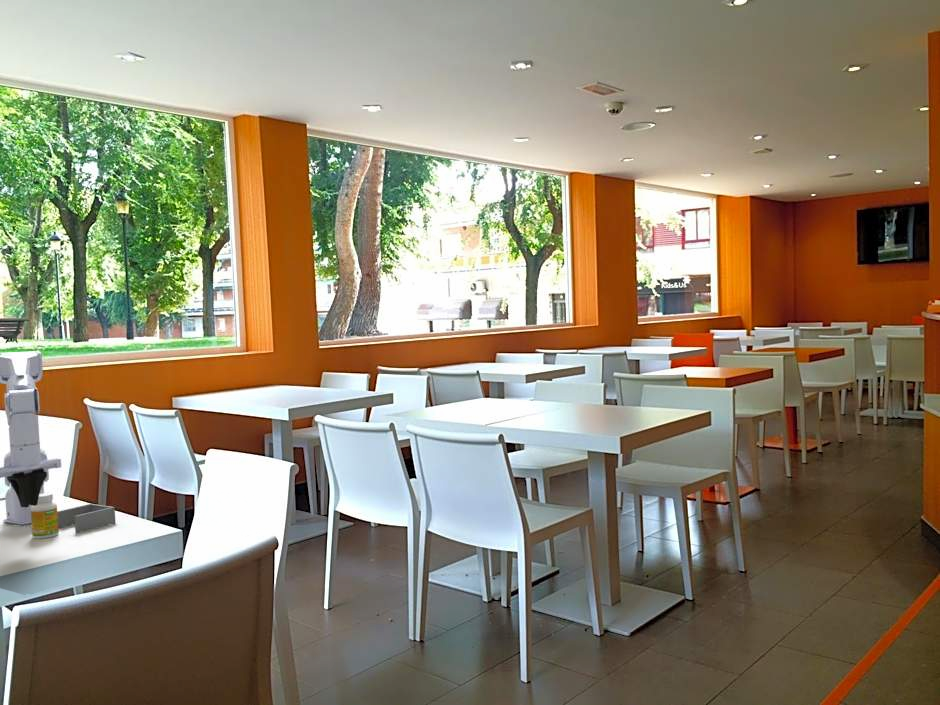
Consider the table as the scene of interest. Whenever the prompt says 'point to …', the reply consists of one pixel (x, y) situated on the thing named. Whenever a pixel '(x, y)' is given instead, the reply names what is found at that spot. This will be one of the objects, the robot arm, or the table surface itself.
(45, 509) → the supplement bottle
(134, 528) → the table surface
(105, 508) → the crate
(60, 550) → the table surface
